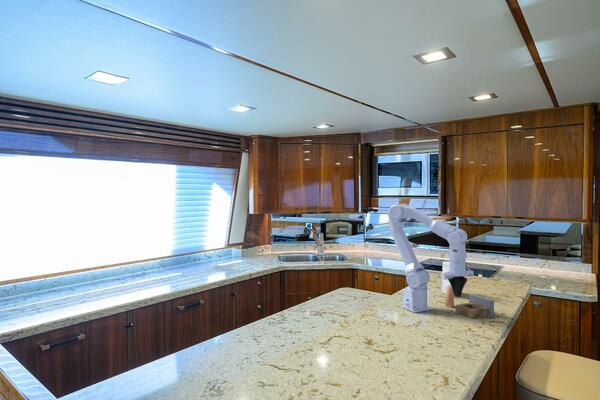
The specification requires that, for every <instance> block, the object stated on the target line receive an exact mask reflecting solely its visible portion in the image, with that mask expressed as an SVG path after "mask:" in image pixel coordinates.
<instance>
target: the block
mask: <svg viewBox="0 0 600 400" xmlns="http://www.w3.org/2000/svg"><path fill="white" fill-rule="evenodd" d="M455 313H457V314H458V315H462V316H464V317H467V318H470V319H477V318H482V317H489V316H488V308H486V307H483V306H480V305H477V304H474V303H471V302H470V303H469V302H466V303H465V302H464V303H459V304H455Z"/></svg>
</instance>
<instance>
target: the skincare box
mask: <svg viewBox="0 0 600 400" xmlns="http://www.w3.org/2000/svg"><path fill="white" fill-rule="evenodd" d="M446 272H449V261H442V272H441V274H442V273H446ZM447 286H451V284H450V282H449V280H448V279H446V280H444V279H441V293H443V294H445V295H446V287H447ZM451 287H452V286H451ZM454 298H457V297H456V296H454Z"/></svg>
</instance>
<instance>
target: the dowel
mask: <svg viewBox="0 0 600 400" xmlns="http://www.w3.org/2000/svg"><path fill="white" fill-rule="evenodd" d="M445 298H446V299H445V300H446V301H445V303H446V304H445V306H446V307H448V308H454V307H455V297H454V293H453V289H452V287H451V286H447V287H446V294H445Z"/></svg>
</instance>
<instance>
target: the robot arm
mask: <svg viewBox="0 0 600 400" xmlns="http://www.w3.org/2000/svg"><path fill="white" fill-rule="evenodd" d="M387 216H388V229H389V232H390V234H391V237H392V239H393V241H394V243H395V245H396V247H397V250H398V252H399V254H400V257H401V259H402V261H403V263H404V266H405V270H404V273H405V275H406V277H405V278H406V283H407V285H408V287H406V288H405V289H404V290H403V291H402V306H401V307H402V308H403V309H405V310H407V311H410V312H412V313H419V312H426V311H431V310H433V308H432V307H430V306H428V305H429V304H428V303H429V302H428V301H429V300H428V299H429V297H428V291H429V289H428V283H430V282H429V281H430V279H431V277H430V273H429V271H427V270H426V269H425V268H424V265H423V264H422V263H420V262H419V261H418V259H417V256H416V254H415V252H414V249H413V248H412V246H411V244H410V241H409V239H408V237H407V235H406V234H407V233H405V230H404V228H403V227H404V226H405V223H406V221H407V220H408V219H414V220H416V221H417V222H419V223H421V224H424V225H426V227H427V226H428V227H429V228H430V230H431V232H432V233H434V234H436V235H437V236H439V237H441V238H443V239H444V240H446V241H447V242H448V244H449V249H448V251H449V253H448V254H449V255H448V257H449V261H448V262H449V272H446V273H442V272H441V273H440V279H441V280H442V279H444V280H446V279H448V280H449V282H450V284H451V286H452V289H453V293H454V296H456V297H455V298H461V297H462V293H463V290H464V286H465V285H466V283H467V282H468V277H474V270H471V269H467V268H466V264H467V263H466V261H467V260H466V258H467V257H466V256H467V255H466V251H467V250H466V242H467V241H468V234H467V232H466V231H465V230H463V228H457V226H455V225H451V224H449V223H448V222H446V219H440V218H438V219H433V217H430V216H429V215H427V214H426V213H423V212H422V211H420V210H419V209H417V208H415V206H414V207H413V206H411V205H409V204H408V203H402V204H392V205H391V206H390V207H389V208H388V210H387Z"/></svg>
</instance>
